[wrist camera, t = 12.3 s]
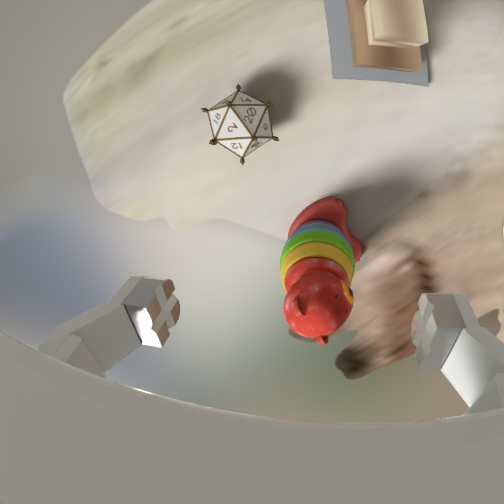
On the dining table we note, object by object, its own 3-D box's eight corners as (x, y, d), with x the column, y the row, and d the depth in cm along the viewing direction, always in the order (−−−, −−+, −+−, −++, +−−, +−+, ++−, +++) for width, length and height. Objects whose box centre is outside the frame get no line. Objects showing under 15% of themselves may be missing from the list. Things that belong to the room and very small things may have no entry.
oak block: (405, 11, 19) (421, -3, 14) (410, 49, 21) (428, 42, 16) (363, 7, 20) (372, -10, 15) (368, 44, 22) (379, 35, 17)
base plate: (416, 1, 21) (418, -1, 20) (425, 86, 27) (428, 86, 26) (322, -7, 24) (322, -10, 23) (332, 78, 30) (333, 78, 29)
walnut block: (401, 6, 22) (412, -4, 17) (409, 72, 26) (422, 70, 22) (345, 1, 23) (348, -12, 19) (353, 67, 28) (358, 63, 24)
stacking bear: (366, 255, 42) (379, 348, 27) (305, 276, 46) (290, 368, 31) (339, 191, 38) (347, 267, 23) (273, 218, 42) (242, 300, 27)
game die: (247, 105, 38) (225, 60, 28) (297, 133, 36) (286, 87, 26) (206, 152, 38) (172, 116, 29) (254, 185, 36) (229, 152, 26)
